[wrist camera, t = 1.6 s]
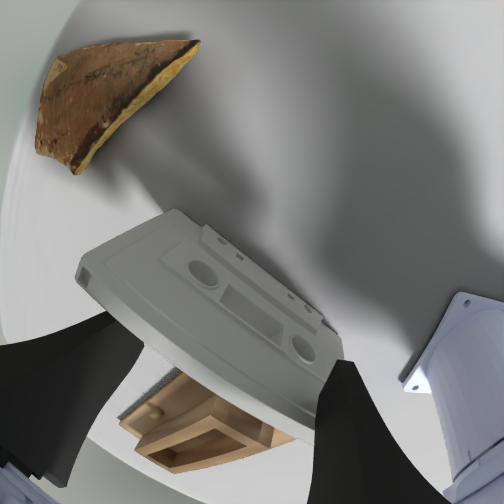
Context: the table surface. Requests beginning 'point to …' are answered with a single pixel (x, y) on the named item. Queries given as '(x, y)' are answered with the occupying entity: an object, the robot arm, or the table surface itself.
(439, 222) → the table surface
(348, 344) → the table surface
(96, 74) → the shard
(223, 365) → the cassette
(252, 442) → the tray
